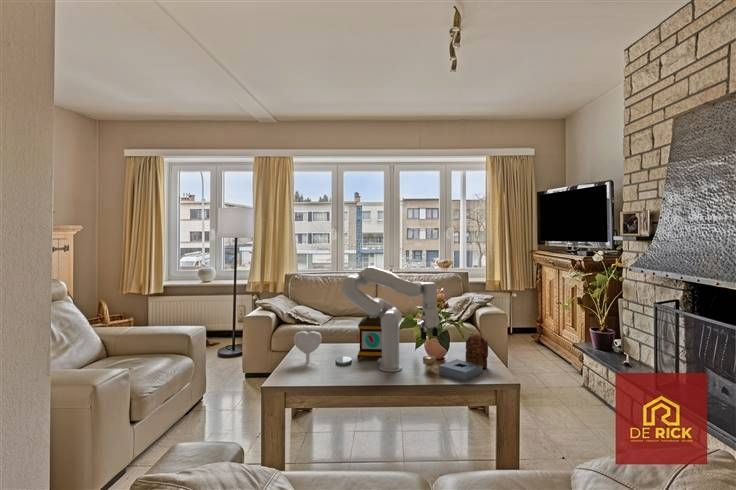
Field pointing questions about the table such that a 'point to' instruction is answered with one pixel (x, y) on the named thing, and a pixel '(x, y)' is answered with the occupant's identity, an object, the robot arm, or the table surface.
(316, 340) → the heart sculpture
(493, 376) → the table surface
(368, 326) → the decorative lantern
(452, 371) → the block
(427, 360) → the bushing
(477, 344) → the wooden figurine
